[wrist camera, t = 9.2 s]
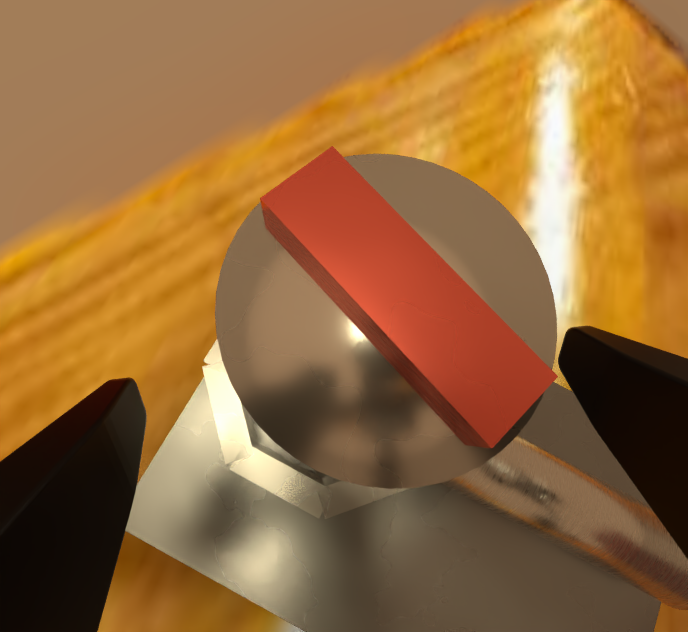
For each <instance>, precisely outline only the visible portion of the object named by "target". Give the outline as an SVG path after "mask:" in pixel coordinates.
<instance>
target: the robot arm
mask: <svg viewBox="0 0 688 632" xmlns="http://www.w3.org/2000/svg"><path fill="white" fill-rule="evenodd" d="M558 364H559V368H560V370H561V372H562V374H563V375H564V377H565V379H566V381H567V382H568V384H569V386H570V388H571V389H572V391H573V393H574V395H575V396H576V398H577V400H578V402H579V403H580V405H581V407H582V409H583V410H584V412H585V414H586V415H587V417H588V419H589V421H590V422H591V424H592V425H593V427H594V429H595V430H596V432H597V433H598V434H599V436H600V437H601V439H602V440H603V442H604V443H605V444H606V446H607V447H608V449H609V450H610V451H611V453H612V454H613V456H614V457H615V458H616V460H617V461H618V463H619V464H620V465H621V467H622V468H623V470H624V471H625V472H626V474H627V475H628V477H629V478H630V479H631V481H632V482H633V484H634V485H635V486H636V488H637V489H638V491H639V492H640V493H641V495H642V496H643V498H644V499H645V500H646V502H647V503H648V505H649V506H650V507H651V509H652V510H653V512H654V513H655V514H656V516H657V517H658V519H659V520H660V521H661V523H662V524H663V526H664V527H665V528H666V530H667V531H668V533H669V534H670V535H671V537H672V538H673V540H674V541H675V542H676V544H677V545H678V547H679V548H680V549H681V551H682V552H683V554H684V555H685V556H686V558H687V559H688V359H687V358H684V357H681V356H678V355H675V354H672V353H669V352H666V351H663V350H660V349H657V348H654V347H651V346H648V345H645V344H642V343H639V342H636V341H633V340H630V339H627V338H624V337H621V336H618V335H615V334H612V333H609V332H606V331H603V330H600V329H597V328H594V327H591V326H579V327H572V328H570V329H568V330H567V332H566V334H565V337H564V340H563V344H562V347H561V351H560V354H559V358H558ZM145 427H146V410H145V407H144V404H143V401H142V398H141V395H140V393H139V390H138V387H137V384H136V382H135V381H134V379H132V378H121V379H112V380H109V381H107V382H106V383H104V384H103V385H102V386H100V387H99V388H98V389H96V390H95V391H94V392H92V393H91V394H90V395H88V396H87V397H86V398H84V399H83V400H82V401H80V402H79V403H78V404H76V405H75V406H74V407H72V408H71V409H70V410H68V411H67V412H66V413H64V414H63V415H62V416H60V417H59V418H58V419H56V420H55V421H54V422H52V423H51V424H50V425H48V426H47V427H46V428H44V429H43V430H42V431H40V432H39V433H38V434H36V435H35V436H34V437H32V438H31V439H30V440H28V441H27V442H26V443H24V444H23V445H22V446H20V447H19V448H18V449H16V450H15V451H14V452H12V453H11V454H10V455H8V456H7V457H6V458H4V459H3V460H2V461H0V632H97V631H98V628H99V624H100V620H101V617H102V613H103V609H104V606H105V602H106V599H107V595H108V591H109V588H110V584H111V581H112V577H113V573H114V570H115V566H116V562H117V559H118V555H119V552H120V548H121V544H122V541H123V537H124V534H125V530H126V526H127V523H128V519H129V516H130V512H131V508H132V504H133V500H134V496H135V491H136V486H137V480H138V473H139V467H140V460H141V454H142V447H143V440H144V434H145Z"/></svg>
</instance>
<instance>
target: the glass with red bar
mask: <svg viewBox="0 0 688 632" xmlns="http://www.w3.org/2000/svg"><path fill="white" fill-rule="evenodd" d="M260 201H261V202H260V203H259V204H258V205H257V206H256V207H255V208H254V209H253V210H252V211H251V212H250V214H249V215H248V216H247V218H246V219H245V221H244V222H243V224H242V225H241V226H240V228H239V229H238V231H237V233H236V235H235V237H234V239H233V241H232V243H231V244H230V246H229V248H228V251H227V254H226V257H225V259H224V262H223V265H222V268H221V271H220V276H219V281H218V286H217V291H216V308H215V319H216V331H217V339H218V344H219V348H220V353H221V357H222V361H223V364H224V366H225V369H226V372H227V375H228V377H229V380H230V383H231V384H232V386H233V388H234V390H235V392H236V394H237V396H238V397H239V399H240V401H241V403H242V405H243V406H244V407H245V409H246V410H247V411H248V413H249V414H250V415H251V417H252V418H253V420H254V421H255V422H256V424H257V425H258V426H259V427H260V428H261V429H262V430H263V431H264V432H265V433H266V434H267V435H268V436H269V437H270V438H271V439H272V440H273V441H274V442H275V443H276V444H277V445H279V446H280V447H281V448H282V449H284V450H285V451H286V452H288V453H289V454H290V455H291V456H293V457H294V458H296V459H297V460H299V461H301V462H302V463H304V464H306V465H308V466H309V467H311V468H313V469H315V470H316V471H319V472H321V473H324V474H326V475H329V476H331V477H333V478H336V479H338V480H341V481H345V482H349V483H353V484H357V485H361V486H367V487H376V488H385V489H401V488H417V487H422V486H428V485H433V484H438V483H441V482H444V481H447V480H450V479H453V478H456V477H459V476H462V475H464V474H465V473H467V472H469V471H471V470H473V469H475V468H477V467H479V466H481V465H483V464H484V463H486V462H487V461H488V460H490V459H491V458H493V457H494V456H495V455H497V454H498V453H500V452H501V451H502V450H503V449H504V448H505V447H506V446H507V445H508V444H509V443H510V442H511V441H512V440H513V439H514V438H515V437H517V435H518V434H519V433H520V431H521V430H522V429H523V428H524V426H525V425H526V424H527V423H528V421H529V420H530V419H531V417H532V415H533V413H534V412H535V410H536V408H537V406H538V405H539V403H540V401H541V399H542V397H543V394H544V392H545V390H546V389H547V388H548V387H549V386H550V385H551V384H552V383H553V381H554V380H555V379H556V378H557V377H558V376H557V375H556V374H555V373H554V372H553V371H552V367H553V363H554V359H555V351H556V341H557V318H556V310H555V303H554V297H553V292H552V289H551V285H550V282H549V278H548V275H547V272H546V270H545V268H544V265H543V263H542V260H541V258H540V256H539V254H538V252H537V250H536V249H535V247H534V245H533V243H532V241H531V240H530V238H529V236H528V235H527V234H526V232H525V231H524V230H523V228H522V227H521V225H520V224H519V223H518V221H517V220H516V219H515V218H514V217H513V216H512V215H511V214H510V213H509V211H508V210H507V209H506V208H505V207H504V206H503V205H502V204H501V203H500V202H498V201H497V200H496V199H495V198H494V197H493V196H491V195H490V194H489V193H488V192H487V191H485V190H484V189H482V188H481V187H479V186H478V185H477V184H475V183H474V182H472V181H471V180H469V179H467V178H465V177H463V176H461V175H460V174H458V173H456V172H454V171H452V170H449V169H447V168H444V167H442V166H439V165H437V164H434V163H431V162H427V161H424V160H420V159H417V158H412V157H406V156H399V155H389V154H366V155H353V156H348V157H342V155H341V154H340V153H339V152H338V151H337V150H336V149H335V148H334V147H333V146H332V147H331V148H329V149H328V150H326V151H325V152H324V153H322V154H321V155H319V156H318V157H317V158H315V159H314V160H313V161H311V162H310V163H308V164H307V165H306V166H304V167H303V168H301V169H300V170H299V171H297V172H296V173H295V174H293V175H292V176H290V177H289V178H288V179H286V180H285V181H284V182H282V183H281V184H279V185H278V186H277V187H275V188H274V189H272V190H271V191H270V192H268V193H267V194H266V195H264V196H263V197H261V198H260Z"/></svg>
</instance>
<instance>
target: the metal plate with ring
mask: <svg viewBox="0 0 688 632" xmlns="http://www.w3.org/2000/svg"><path fill="white" fill-rule="evenodd" d="M204 362H205V363H207V364H209V365H207V366H203V367H202V368H203V372H204V378H203V379H202V381H201V383H200V384H199V386H198V387H197V389H196V391H195V392H194V394H193V395H192V397H191V399H190V400H189V402H188V403H187V405H186V407H185V408H184V410H183V412H182V413H181V415H180V416H179V418H178V420H177V421H176V423H175V424H174V426H173V428H172V429H171V431H170V433H169V434H168V436H167V437H166V439H165V441H164V442H163V444H162V445H161V447H160V449H159V450H158V452H157V454H156V455H155V457H154V458H153V460H152V462H151V463H150V465H149V466H148V468H147V470H146V471H145V473H144V474H143V476H142V478H141V479H140V481H139V483H138V484H137V486H136V491H135V496H134V500H133V504H132V508H131V512H130V516H129V519H128V523H127V526H126V530H125V531H127V532H129V533H130V534H132V535H134V536H136V537H137V538H139V539H141V540H143V541H145V542H146V543H148V544H150V545H152V546H154V547H155V548H157V549H159V550H161V551H162V552H164V553H166V554H168V555H170V556H171V557H173V558H175V559H177V560H179V561H180V562H182V563H184V564H186V565H187V566H189V567H191V568H193V569H195V570H196V571H198V572H200V573H202V574H203V575H205V576H207V577H209V578H211V579H212V580H214V581H216V582H218V583H220V584H221V585H223V586H225V587H227V588H228V589H230V590H232V591H234V592H236V593H237V594H239V595H241V596H243V597H245V598H246V599H248V600H250V601H252V602H253V603H255V604H257V605H259V606H261V607H262V608H264V609H266V610H268V611H270V612H271V613H273V614H275V615H277V616H278V617H280V618H282V619H284V620H286V621H287V622H289V623H291V624H293V625H294V626H296V627H298V628H300V629H302V630H303V631H305V632H654V628H655V624H656V620H657V616H658V612H659V608H660V604H661V602H662V603H664V604H666V605H668V606H670V607H672V608H675V609H679V610H688V559H687V558H686V556H685V555H684V554H683V552H682V551H681V549H680V548H679V547H678V545H677V544H676V542H675V541H674V540H673V538H672V537H671V535H670V534H669V533H668V531H667V530H666V528H665V527H664V526H663V524H662V523H661V521H660V520H659V519H658V517H657V516H656V514H655V513H654V512H653V510H652V509H651V507H650V506H649V505H648V503H647V502H646V500H645V499H644V498H643V496H642V495H641V493H640V492H639V491H638V489H637V488H636V486H635V485H634V484H633V482H632V481H631V479H630V478H629V477H628V475H627V474H626V472H625V471H624V470H623V468H622V467H621V465H620V464H619V463H618V461H617V460H616V458H615V457H614V456H613V454H612V453H611V451H610V450H609V449H608V447H607V446H606V444H605V443H604V442H603V440H602V439H601V437H600V436H599V434H598V433H597V432H596V430H595V429H594V427H593V425H592V424H591V422H590V421H589V419H588V417H587V415H586V414H585V412H584V410H583V409H582V407H581V405H580V403H579V402H578V400H577V398H576V396H575V395H574V393H573V392H572V391H570V390H568V389H566V388H564V387H562V386H560V385H558V384H556V383H554V382H553V383H552V384H551V385H550V386H549V387H548V388H547V389H546V390H545V392H544V394H543V397H542V399H541V401H540V403H539V405H538V406H537V408H536V410H535V412H534V413H533V415H532V417H531V419H530V420H529V421H528V423H527V424H526V425H525V426H524V428H523V429H522V430H521V431H520V433H519V434H518V435H517V437H515V438H514V439H513V440H512V441H511V442H510V443H509V444H508V445H507V446H506V447H505V448H504V449H503V450H502V451H501V452H500V453H498V454H497V455H495V456H494V457H493V458H491V459H490V460H488V461H487V462H486V463H484V464H483V465H481V466H479V467H477V468H475V469H473V470H471V471H469V472H467V473H465V474H464V475H462V476H459V477H456V478H453V479H450V480H447V481H444V482H441V483H438V484H433V485H428V486H422V487H417V488H401V489H385V488H376V487H367V486H361V485H357V484H353V483H349V482H345V481H341V480H338V479H336V478H333V477H331V476H329V475H326V474H324V473H321V472H319V471H316V470H315V469H313V468H311V467H309V466H308V465H306V464H304V463H302V462H301V461H299V460H297V459H296V458H294V457H293V456H291V455H290V454H289V453H288V452H286V451H285V450H284V449H282V448H281V447H280V446H279V445H277V444H276V443H275V442H274V441H273V440H272V439H271V438H270V437H269V436H268V435H267V434H266V433H265V432H264V431H263V430H262V429H261V428H260V427H259V426H258V425H257V424H256V422H255V421H254V420H253V418H252V417H251V415H250V414H249V413H248V411H247V410H246V409H245V407H244V406H243V405H242V403H241V401H240V399H239V397H238V396H237V394H236V392H235V390H234V388H233V386H232V384H231V383H230V380H229V377H228V375H227V372H226V369H225V366H224V364H223V361H222V357H221V353H220V348H219V344H218V339H217V340H216V342H215V343H214V345H213V346H212V348H211V349H210V351H209V353H208V354H207V356H206V357H205V359H204Z"/></svg>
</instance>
